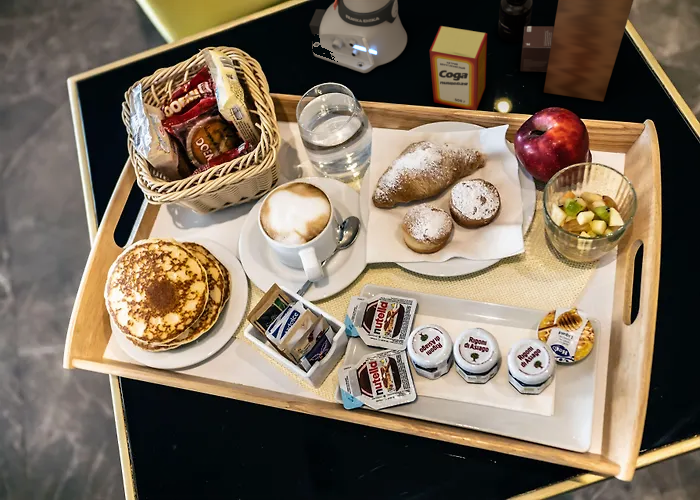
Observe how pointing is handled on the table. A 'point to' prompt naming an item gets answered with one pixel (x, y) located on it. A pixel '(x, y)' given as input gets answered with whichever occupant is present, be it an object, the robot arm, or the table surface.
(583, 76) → the wooden high-back chair
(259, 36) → the table surface
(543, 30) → the box
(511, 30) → the supplement bottle
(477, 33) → the baking soda box
